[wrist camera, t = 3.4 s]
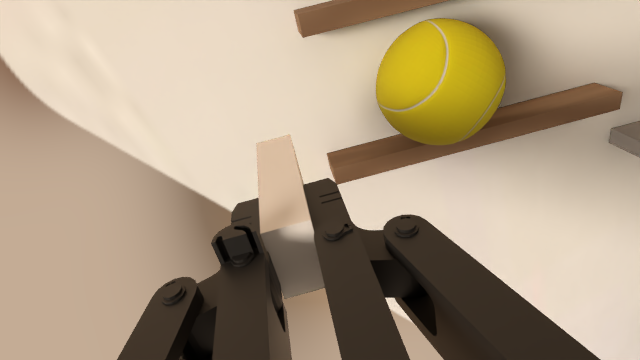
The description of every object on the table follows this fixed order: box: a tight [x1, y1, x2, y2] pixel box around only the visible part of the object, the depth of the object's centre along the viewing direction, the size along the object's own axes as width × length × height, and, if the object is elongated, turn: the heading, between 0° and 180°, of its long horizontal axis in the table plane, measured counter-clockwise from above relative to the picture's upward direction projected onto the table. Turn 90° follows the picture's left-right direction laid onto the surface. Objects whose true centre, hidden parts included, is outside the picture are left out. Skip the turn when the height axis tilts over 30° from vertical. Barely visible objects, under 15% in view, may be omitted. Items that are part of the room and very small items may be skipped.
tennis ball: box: [376, 18, 506, 145], centre depth 23 cm, size 7×7×7 cm
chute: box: [294, 0, 623, 184], centre depth 25 cm, size 11×20×2 cm, turn 102°
